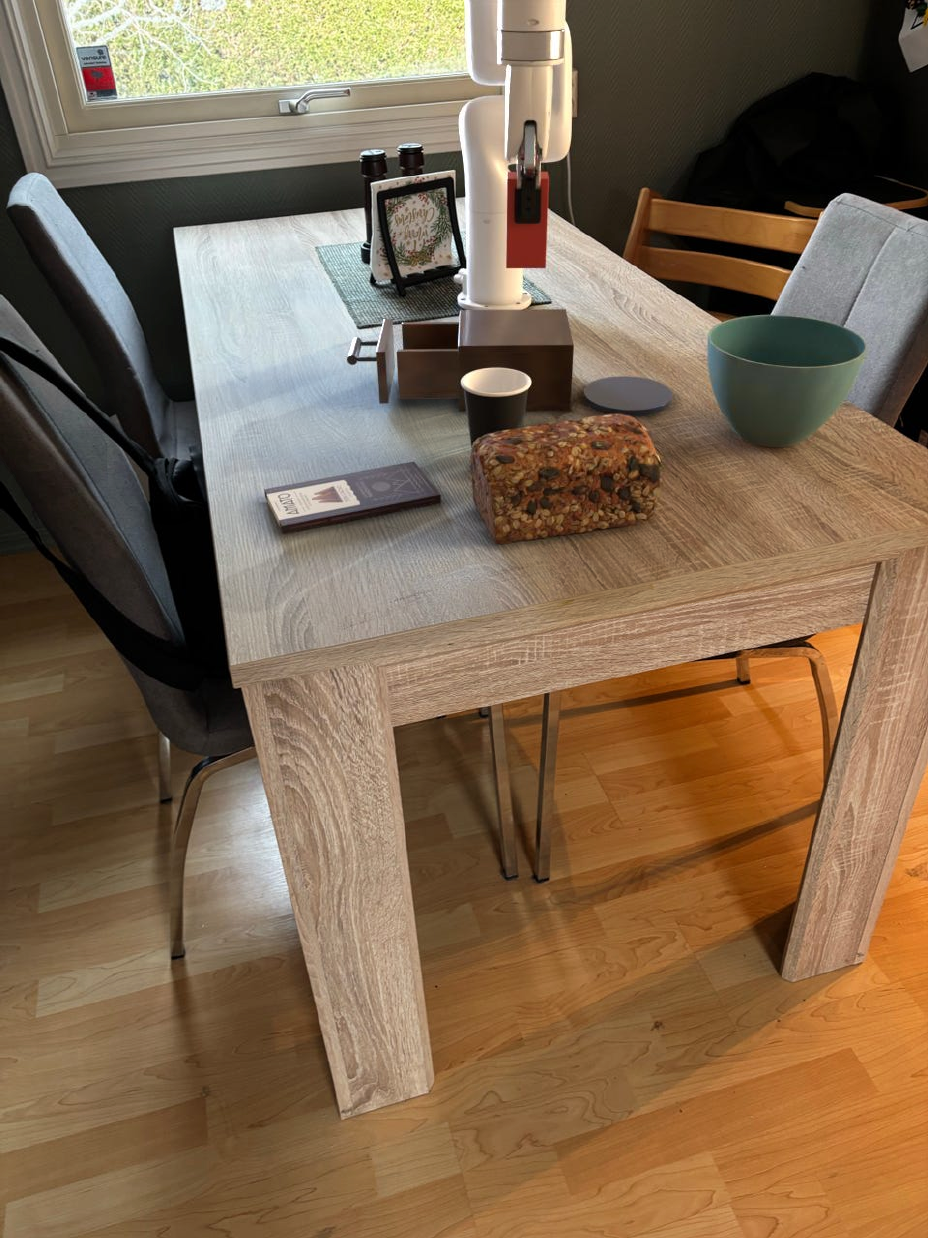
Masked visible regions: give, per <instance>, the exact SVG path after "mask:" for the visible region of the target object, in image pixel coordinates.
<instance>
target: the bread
mask: <svg viewBox="0 0 928 1238" xmlns="http://www.w3.org/2000/svg"><path fill="white" fill-rule="evenodd" d="M647 430H648V429H647V428H646V427H645V426H644V425H643V424H642V423H641V422H639V421H638V420H637V418H635V416H630V415H624V414H609V413H607V414H604V415H601V414H597V415H592V416H586V417H581V418H576V419H575V418H574V419H573V418H572V419H571V418H567V419H564V420H560V421H556V422H547V423H539V425H531V426H523V427H522V428H517V429H513V430H504V431H498V432H494V433H490V434H486V435H484V436H482V437H481V438H478V439H477V440H476V441H475V442H474V443H473V445H472V448H471V447H470V455H469V463H470V464H469V468H470V471H469V477H470V481H469V482H470V483H471V484H470V485H471V486H470V488H471V490H472V501H473V503H474V505H475V507H476V508H477V511H478V514H479V517H481V518H482V519H483V520H484V522H485V526H486V529H487V531H488V533H489V534H490V537H491V538H492V540H493V541H494V543H495V544H500V545H505V544H509V543H512V542H513V541H532V540H536V539H538V538H541V539H545V538H553V537H555V536H562V535H571V534H581V533H583V532H592V531H593V530H595V529H603V530H605V529H609V528H620V527H625V526H630V525H635V524H637V523H638V522H639V521H641V522H647V521H649V520H651V519H653V518H654V517H655V515H654V514H655V513H656V507H657V505H658V504H657V501H658V498H659V496H660V494H661V492H662V491H661V487H662V476H661V472H662V469H663V467H664V466H663V465H662V461H661V458H660V456H659V454H658V453H657V451H656V448H655V445H654V443H653V441H652V439H651V437H650V435H649V434H648V431H647Z"/></svg>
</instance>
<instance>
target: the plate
mask: <svg viewBox="0 0 928 1238" xmlns="http://www.w3.org/2000/svg"><path fill="white" fill-rule="evenodd" d="M673 398H674V393H673V392H672V390H671V388H669V387H668V386H667V385H665V384H664V383H661V382H659V381H657V380H653V379H650V378H646V377H639V376H631V375H630V376H628V375H627V376H626V375H625V376H623V375H621V376H620V375H619V376H618V375H617V376H609V377H603V378H600V379H597V380H593V381H591V382H590V383H588V384H587V385H586V386H585V387H584V389H583V400H584V402H585V403H586V404H587V405H588V406H589V407H590V408H593V409H594V410H597V411H599V412H601V413H602V412H603V413H605V414H624V415H630V416H632V417H641V416H648V415H649V416H650V415H653V414H654V415H655V414H658V413H661V412H663V411H665V410H667V409H668V408H670V406H671V405H672V403H673V400H674V399H673Z"/></svg>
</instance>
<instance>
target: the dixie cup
mask: <svg viewBox="0 0 928 1238" xmlns="http://www.w3.org/2000/svg"><path fill="white" fill-rule="evenodd" d="M461 385H462V387H463V388H464V394H465V402H466V410H467V412H466V418H467V425H468V433H469V441H470V449H471V448H472V445H473V443H474V442H475V441H476V440H477V439H478V438H481V437H482V436H484V435H486V434H490V433H494V432H498V431H504V430H513V429H517V428H522V427H524V422H525V416H526V415H525V414H526V411H525V409H526V401H527V394H528V388H529V387H530V385H531V379H530V378H529V376H527V375H526V374H525V373H523V372H520V371H517V370H513V369H507V368H485V369H479V370H475V371H472V372H470V373H468V374H466V375H465V376H464V377H463V378H462V380H461Z"/></svg>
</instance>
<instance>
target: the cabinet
mask: <svg viewBox="0 0 928 1238" xmlns="http://www.w3.org/2000/svg"><path fill="white" fill-rule="evenodd" d="M459 322H460V323H459V344H458V352H459V398H458V403H459V405H458V407H459V408H458V409H459V413H460V412H461V413H462V412H463V413H465V412H466V413H467V410H466V402H465V394H464V388H463V387H462V385H461V380H462V378H463V377H464V376H465V375H466V374H468V373H470V372H472V371H475V370H479V369H485V368H507V369H513V370H517V371H520V372H523V373H525V374H526V375H527V376H529V378H530V379H531V385H530V387H529V388H528V394H527V401H526V409H525V412H570V411H571V409H572V393H573V392H572V391H573V375H574V374H573V371H574V356H575V355H574V354H575V352H574V351H575V343H574V339H573V335H572V329H571V325H570V321H569V316H568V313H567V309H566V308H556V309H555V308H553V309H551V308H550V309H548V308H547V309H544V308H543V309H541V308H540V309H522V310H466V309H460V310H459Z"/></svg>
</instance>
